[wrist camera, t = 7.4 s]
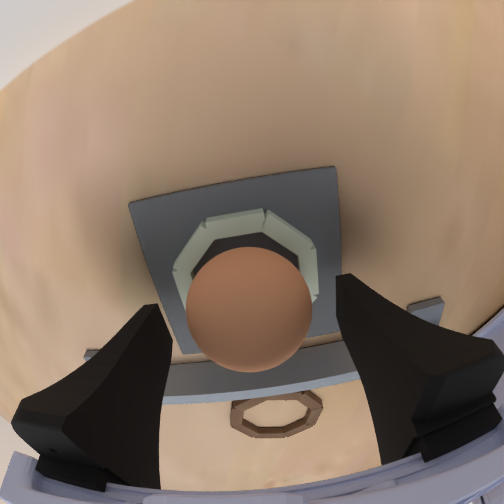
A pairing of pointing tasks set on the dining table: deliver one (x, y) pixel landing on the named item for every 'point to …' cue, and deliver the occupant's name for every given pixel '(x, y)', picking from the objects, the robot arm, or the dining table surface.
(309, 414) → the ring
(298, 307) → the ball
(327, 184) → the pad
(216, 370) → the grey long bar
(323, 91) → the dining table surface
